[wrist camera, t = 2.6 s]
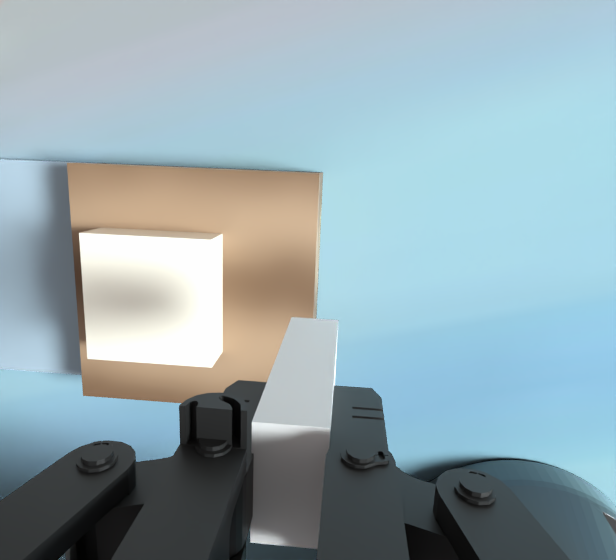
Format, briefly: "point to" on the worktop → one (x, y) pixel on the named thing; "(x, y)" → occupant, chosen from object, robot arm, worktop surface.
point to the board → (236, 262)
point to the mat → (37, 269)
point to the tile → (153, 296)
